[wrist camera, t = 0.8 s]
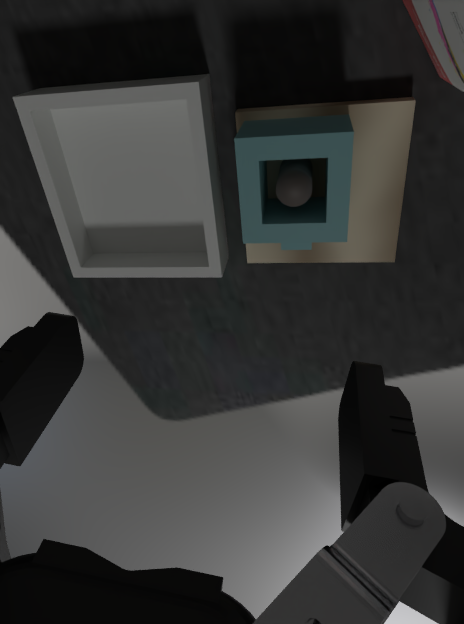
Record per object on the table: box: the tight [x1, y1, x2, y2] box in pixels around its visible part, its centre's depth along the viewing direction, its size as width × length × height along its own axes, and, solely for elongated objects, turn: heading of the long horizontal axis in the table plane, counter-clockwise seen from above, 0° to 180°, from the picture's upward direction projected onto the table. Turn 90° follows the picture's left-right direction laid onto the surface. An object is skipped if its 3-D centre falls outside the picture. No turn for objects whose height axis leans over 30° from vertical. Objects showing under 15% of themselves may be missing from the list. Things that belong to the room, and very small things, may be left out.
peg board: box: [235, 97, 416, 263], centre depth 27 cm, size 10×10×4 cm
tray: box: [13, 74, 229, 277], centre depth 29 cm, size 11×12×3 cm
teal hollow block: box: [234, 114, 354, 250], centre depth 26 cm, size 6×8×4 cm
